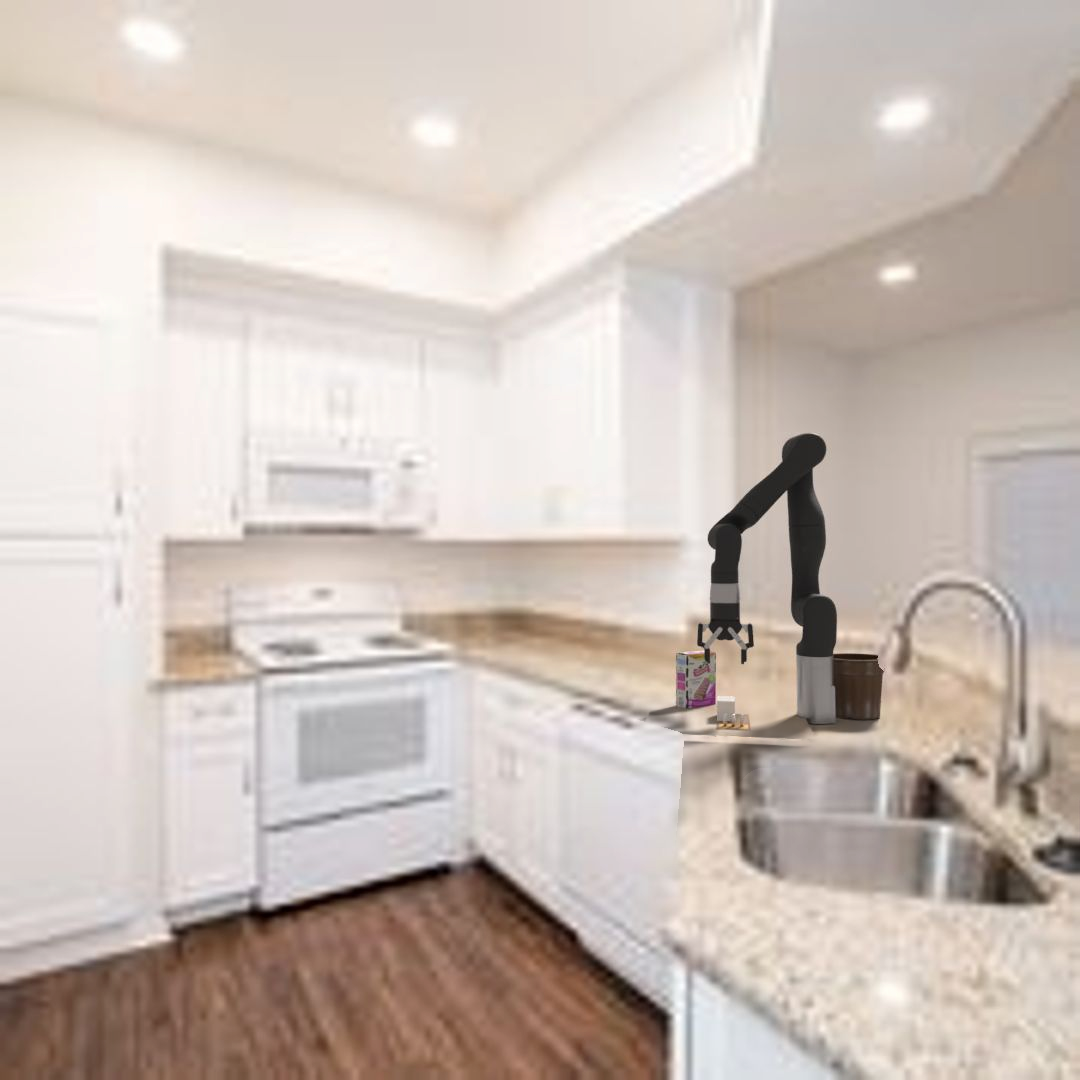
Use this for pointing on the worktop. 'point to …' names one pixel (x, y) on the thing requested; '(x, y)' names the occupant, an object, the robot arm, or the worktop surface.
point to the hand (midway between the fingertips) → (725, 663)
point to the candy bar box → (695, 679)
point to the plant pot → (857, 686)
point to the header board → (737, 724)
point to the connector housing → (725, 707)
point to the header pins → (733, 720)
